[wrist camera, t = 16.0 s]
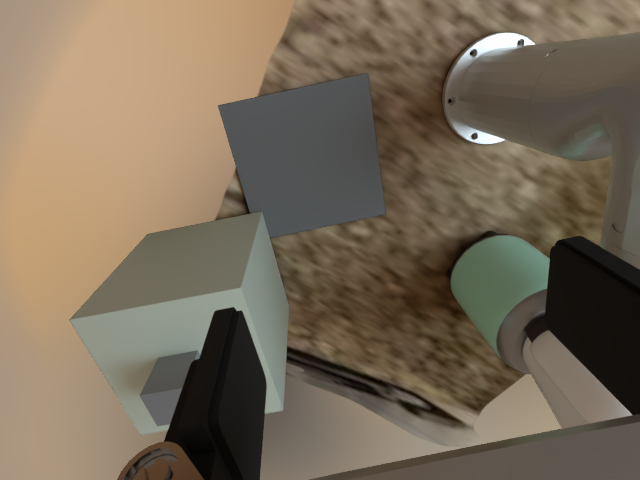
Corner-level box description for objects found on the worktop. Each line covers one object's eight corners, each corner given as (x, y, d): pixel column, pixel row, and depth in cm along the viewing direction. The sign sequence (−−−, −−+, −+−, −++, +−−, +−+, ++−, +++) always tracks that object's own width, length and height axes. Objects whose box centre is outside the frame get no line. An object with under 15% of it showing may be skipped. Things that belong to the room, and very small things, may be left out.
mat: (366, 73, 43) (367, 73, 43) (384, 212, 51) (385, 214, 51) (218, 105, 44) (217, 105, 43) (258, 238, 51) (258, 240, 51)
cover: (262, 211, 49) (231, 319, 28) (289, 307, 56) (280, 450, 35) (147, 234, 50) (36, 355, 29) (188, 325, 57) (122, 476, 36)
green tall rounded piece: (554, 262, 57) (887, 507, 25) (491, 322, 61) (709, 597, 29) (470, 196, 51) (764, 404, 19) (407, 266, 55) (564, 533, 23)
